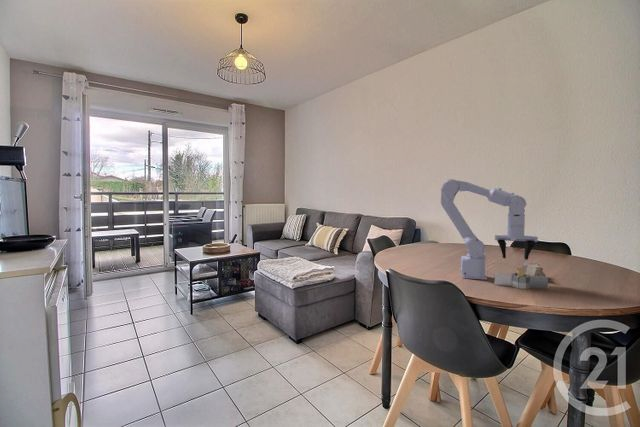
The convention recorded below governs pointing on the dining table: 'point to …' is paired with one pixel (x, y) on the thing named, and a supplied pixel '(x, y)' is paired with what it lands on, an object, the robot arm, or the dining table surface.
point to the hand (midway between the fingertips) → (514, 258)
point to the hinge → (521, 281)
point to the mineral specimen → (532, 269)
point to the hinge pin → (520, 272)
